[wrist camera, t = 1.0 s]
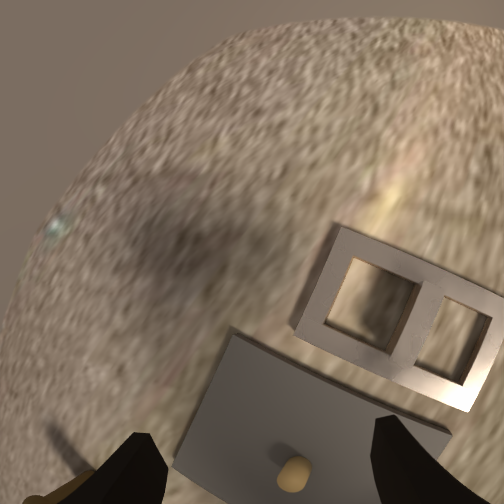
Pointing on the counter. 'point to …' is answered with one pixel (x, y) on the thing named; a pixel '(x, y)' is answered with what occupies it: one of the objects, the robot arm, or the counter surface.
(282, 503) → the plate
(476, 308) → the double window frame
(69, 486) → the cork
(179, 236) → the counter surface
